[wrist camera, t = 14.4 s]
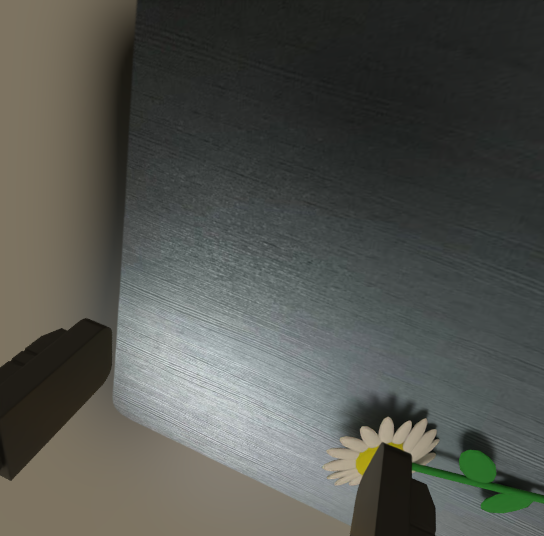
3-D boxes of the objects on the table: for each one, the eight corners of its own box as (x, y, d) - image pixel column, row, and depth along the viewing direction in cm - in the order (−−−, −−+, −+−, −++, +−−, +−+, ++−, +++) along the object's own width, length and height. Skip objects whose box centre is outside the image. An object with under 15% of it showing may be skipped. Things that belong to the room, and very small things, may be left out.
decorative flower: (640, 455, 41) (338, 385, 44) (669, 504, 37) (335, 423, 40) (573, 519, 48) (317, 454, 51) (591, 566, 44) (312, 493, 47)
